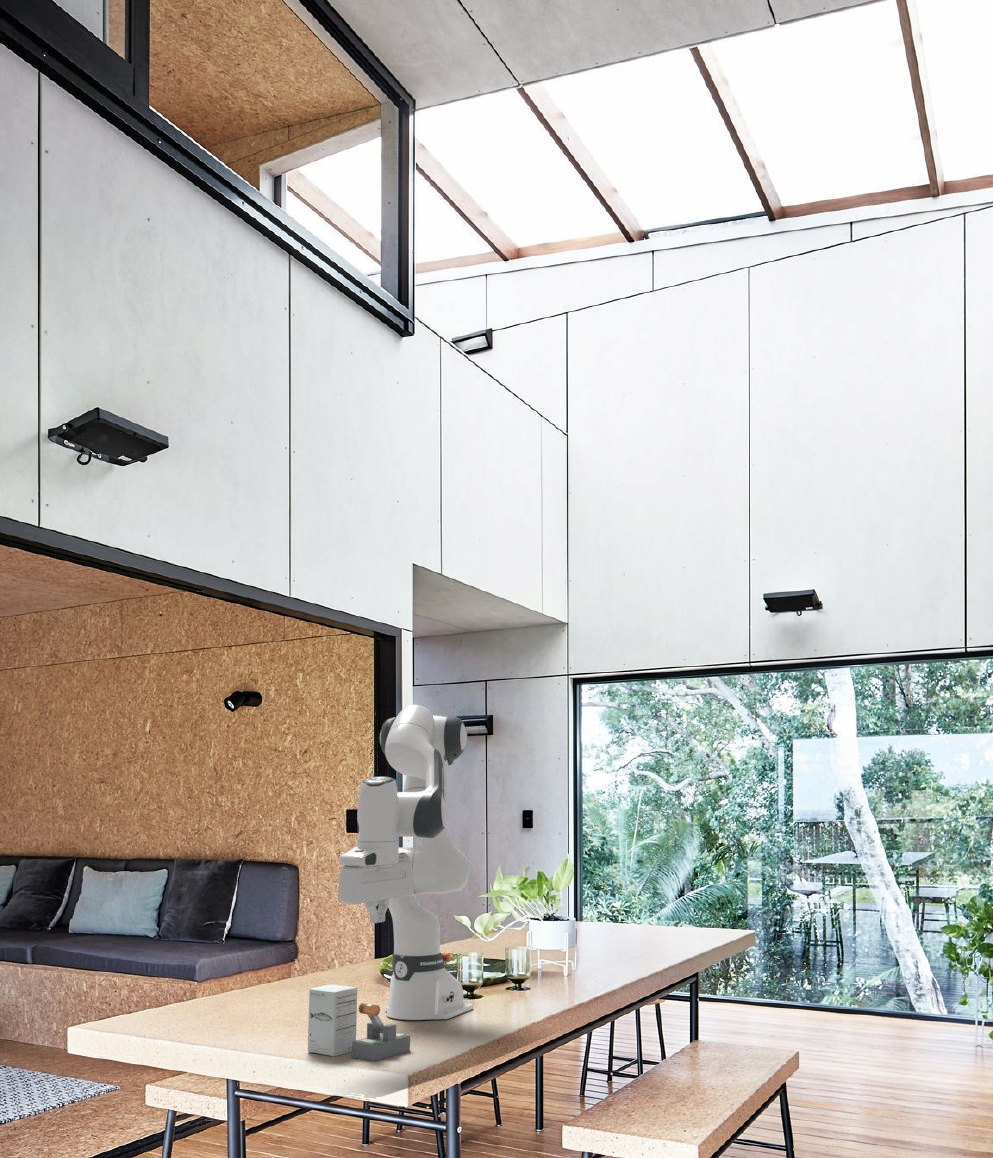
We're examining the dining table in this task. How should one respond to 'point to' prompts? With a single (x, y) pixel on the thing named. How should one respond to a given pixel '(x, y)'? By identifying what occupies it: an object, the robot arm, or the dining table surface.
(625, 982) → the dining table surface
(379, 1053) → the breaker housing
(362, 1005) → the breaker lever
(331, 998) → the supplement box
